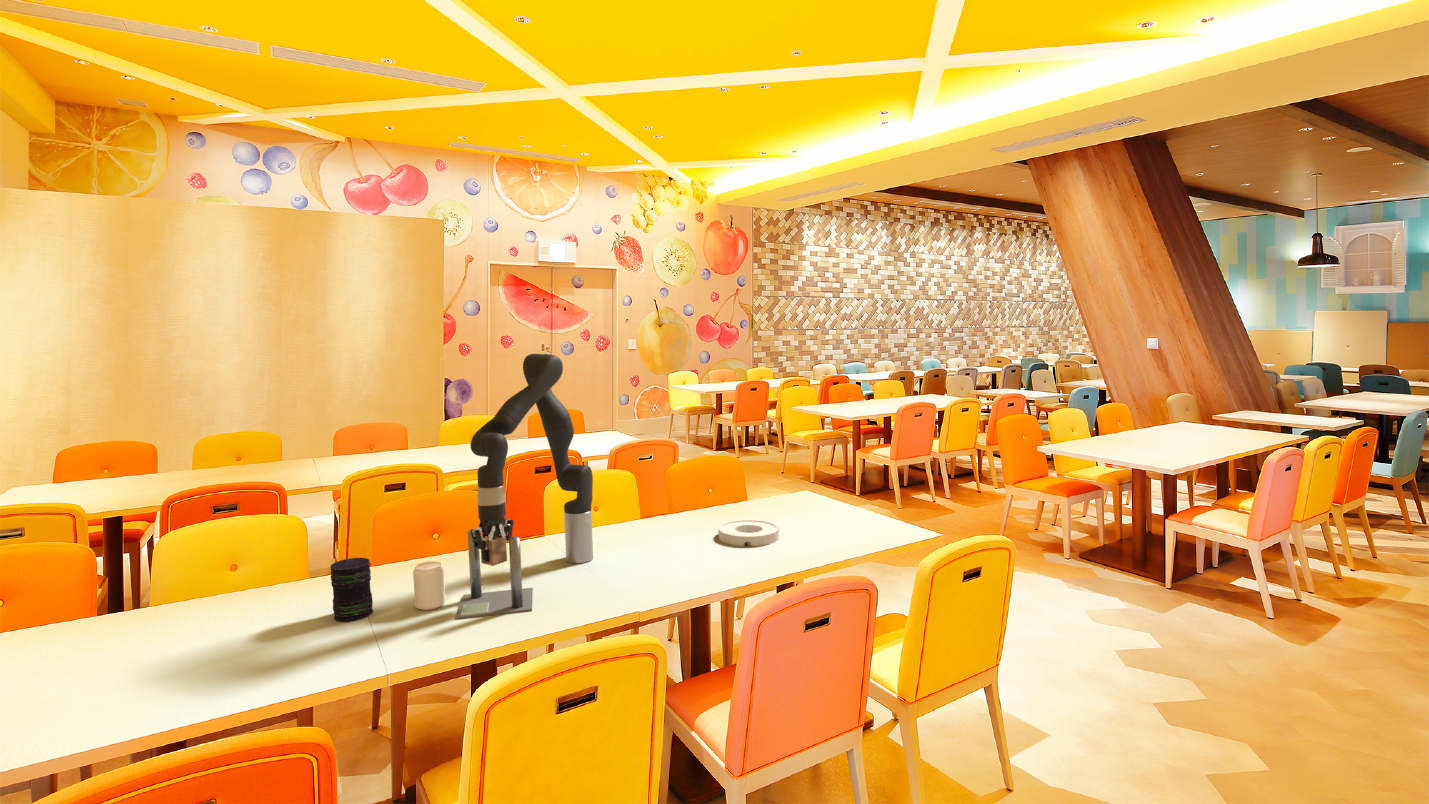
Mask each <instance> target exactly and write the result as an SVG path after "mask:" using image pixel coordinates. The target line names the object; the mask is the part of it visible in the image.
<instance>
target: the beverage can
mask: <svg viewBox="0 0 1429 804" xmlns="http://www.w3.org/2000/svg"><path fill="white" fill-rule="evenodd" d="M442 564H443V563H442V562H440V561H436V560H434V561H431V560H430V561H426V562H425V561H424V562H421V563H418V564H416V565H415V566H414V570H413V571H412V574H413V576H412V577H413V590H414V591H413V592H414V606H415V608H416V609H418V610H419V609H420V610H421V611H423V610H424V611H431V610H435V609H438V608H440V607H442V606H443V605H444V604H445V603H446V585H445V568H444V566H443V565H442Z"/></svg>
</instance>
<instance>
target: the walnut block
mask: <svg viewBox="0 0 1429 804" xmlns="http://www.w3.org/2000/svg"><path fill="white" fill-rule="evenodd" d="M486 538H488V537H486ZM485 543H486V541H485ZM507 554H508V551H507V543H506V537H503V538H502V537H497V536H494V537H493V538H492V541H490V542H489V555H490V562H483V560H482V557H481V556H482V555H481V554H480V559H481V560H480V564H484V565H487V566H491V567H493V566H498V565H500V564H502V563H506V562H507V561H508V555H507Z"/></svg>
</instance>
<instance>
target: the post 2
mask: <svg viewBox="0 0 1429 804" xmlns="http://www.w3.org/2000/svg"><path fill="white" fill-rule="evenodd" d="M508 547H509V548H508V551H509V553H508V554H509V568H510V569H509V570H510V572H509V575H510V590H511V597H512V608H515V609H516V608H521V607H523V597H522V589H523V578H522V577H523V576H522V557H521V537H520V536H519V535H518V536H515V535H514V536H512V537H510V538H509V540H508Z"/></svg>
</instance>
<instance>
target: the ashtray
mask: <svg viewBox="0 0 1429 804" xmlns="http://www.w3.org/2000/svg"><path fill="white" fill-rule="evenodd" d="M717 528H718V540H719V541H720V542H722V543H724V544H727V545H731V546H734V547H735V546H737V547H745V545H747V546H750V547H760V546H761V547H762V546H767V545H771V544H773V543H776V542H777V541H779V540H780V539H779V537H780V536H779V534H780V526H779V525H778V524H777V523H774V522H772V521H768V520H767V521H766V520H760V519H738V520H737V519H735V520H730V521H727V522H724V523H722V524H720V525H719V526H718V527H717Z"/></svg>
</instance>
